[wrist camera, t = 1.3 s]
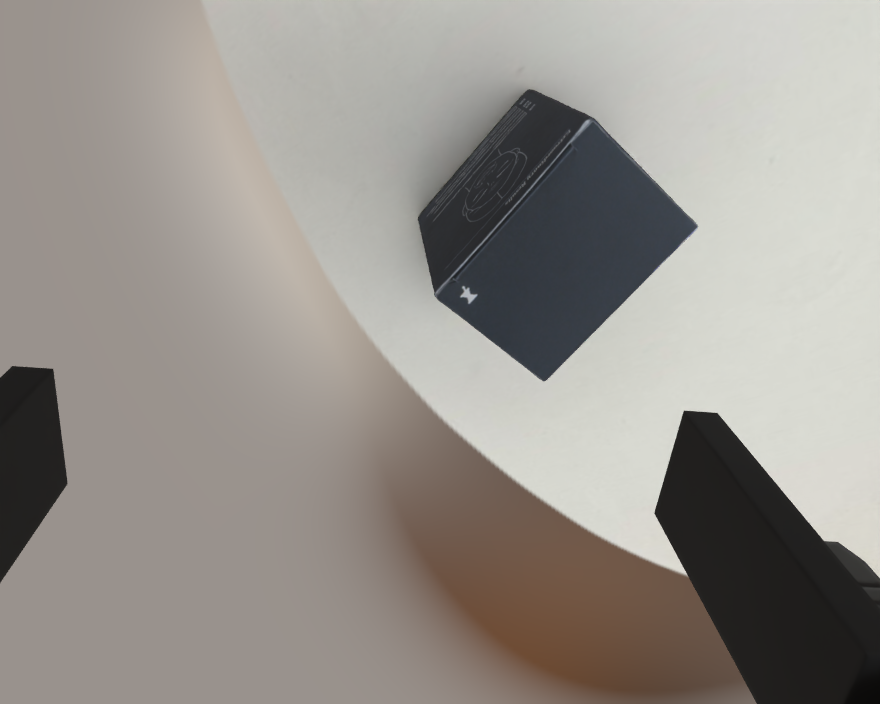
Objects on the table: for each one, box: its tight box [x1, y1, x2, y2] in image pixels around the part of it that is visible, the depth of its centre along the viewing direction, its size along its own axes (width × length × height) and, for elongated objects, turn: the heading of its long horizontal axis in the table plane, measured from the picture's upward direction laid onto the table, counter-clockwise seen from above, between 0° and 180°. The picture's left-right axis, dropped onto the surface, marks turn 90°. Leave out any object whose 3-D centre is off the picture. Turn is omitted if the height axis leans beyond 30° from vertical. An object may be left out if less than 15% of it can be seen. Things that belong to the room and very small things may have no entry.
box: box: [418, 90, 698, 381], centre depth 29 cm, size 8×6×11 cm
